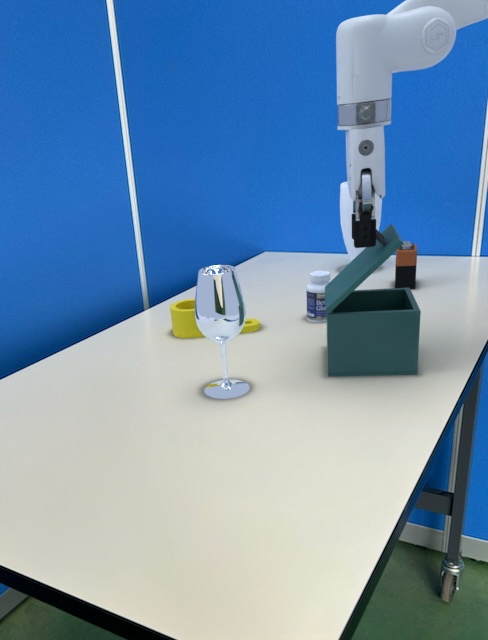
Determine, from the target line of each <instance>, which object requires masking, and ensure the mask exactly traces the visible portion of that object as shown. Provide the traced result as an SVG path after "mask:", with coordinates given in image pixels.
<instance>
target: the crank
mask: <svg viewBox="0 0 488 640" xmlns="http://www.w3.org/2000/svg"><path fill="white" fill-rule="evenodd" d="M169 310H170V318H171V319H170V320H171V327H172V334H173V336H174V337H177V338H182V339H195V338H196V339H197V338H207V337H206V336H204V335H203V334H202V332H201V331H200V330H199V328H198V326H197V323H196V318H195V298H187V299H182V300H178V301H176V302H173V303H171V305H170V306H169ZM259 330H261V321H260V320H259V319H257V318H246V320H245V324H244V326H243V328H242V330H241V332H240V333H239V334H249V333H254V332H257V331H259Z"/></svg>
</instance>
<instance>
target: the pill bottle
mask: <svg viewBox="0 0 488 640" xmlns="http://www.w3.org/2000/svg"><path fill="white" fill-rule="evenodd" d="M309 281H310V282H309V283H308V284H307V286H306V320H307V321H309V322H312V323H327V311H326V309H325V286H326V285H328V284H329V283H330V282H331V272H330V271H328V270H316V271H314V270H313V271H311V272H310V273H309Z"/></svg>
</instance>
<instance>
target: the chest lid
mask: <svg viewBox="0 0 488 640" xmlns="http://www.w3.org/2000/svg"><path fill="white" fill-rule="evenodd" d="M403 242H404V241H403V239H402V238H401V236H400V234H399V233H398V231H397V228H396V227H395V226H394V225H393V224H392V223H390V224H389V225H387V226H386V228H384V229H383V230H382V231H381V232H380V231H378V230H377V229H376V245H375V246H374V247H366V248H365V249H364V250H363V251H362V252H361V253H360V254H359V255H358V256H357V257H356V258H355V259H353V260H350V262H349V263H348V264H347V265H346V266H345V267H344V268H343V269H342V270H340V272H339V273H337V275H336V276H334V277H333V279H332V280H330V281H329V282H330V283H329V284H328V285H326V286H325V309H326V311H327V312H328V313H330V312H331V311H332V310H333V309H335V308H336V307H337V306H338V305H339V304H340V303H341V302H342V301H343V300H344V299H345V298H346V297H347V296H349V295H350V294H351V293H352V292H353V291H354V290H357V289H358V287H359V286H361V284H363V283H364V282H365V281H366V280H367V279H368V278H369V277H370V276H371V275H372V274H373V273H375V272H376V270H377V269H379V268H380V267H381V266H382V265H383V264H384V263H385V262H386V261H387V260H389V258H391V257H392V256H393V254H396V251H397V250H398V249H399V248H400V247H401V246H402V245H403V244H404V243H403Z"/></svg>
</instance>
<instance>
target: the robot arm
mask: <svg viewBox="0 0 488 640" xmlns="http://www.w3.org/2000/svg"><path fill="white" fill-rule="evenodd" d="M487 19H488V0H404V1H402V2H401V3H400V4H399V5H396V7H395V8H393V9H391V10H390V11H389V12H387V13H386V14H384V13H383V14H379V13H377V14H367V15H361V16H355V17H351V18H348V19H345V20H344V21H342V22H340V24H339V25H338V26H337V28H336V33H335V65H336V66H335V67H336V71H335V72H336V125H337V128H336V130H337V131H345V164H346V165H345V167H346V179H347V180H346V182H347V181H348V189H349V194H350V197H351V199H352V200H353V213H356V214H352V239H353V240H354V247H355V248H364V247H374V246H375V245H376V219H375V193H376V194H377V196H379V197H380V199H382V200H383V199H384V198H385V196H386V141H385V127H384V126H388V125H391V124H392V92H393V91H392V88H393V74H396V73H402V72H413V71H419V70H420V71H421V70H426V69H429V68H432V67H434V66H435V65H438V64H439V63H440V62H441V61H443V60H444V59H445V58H447V56H448V55H449V54H450V53H451V51H452V49H453V47H454V45H455V42H456V38H457V31H458V30H460V29H462V28H464V27H468V26H469V25H473V24H475V23H479V22H481V21H484V20H487Z"/></svg>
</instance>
